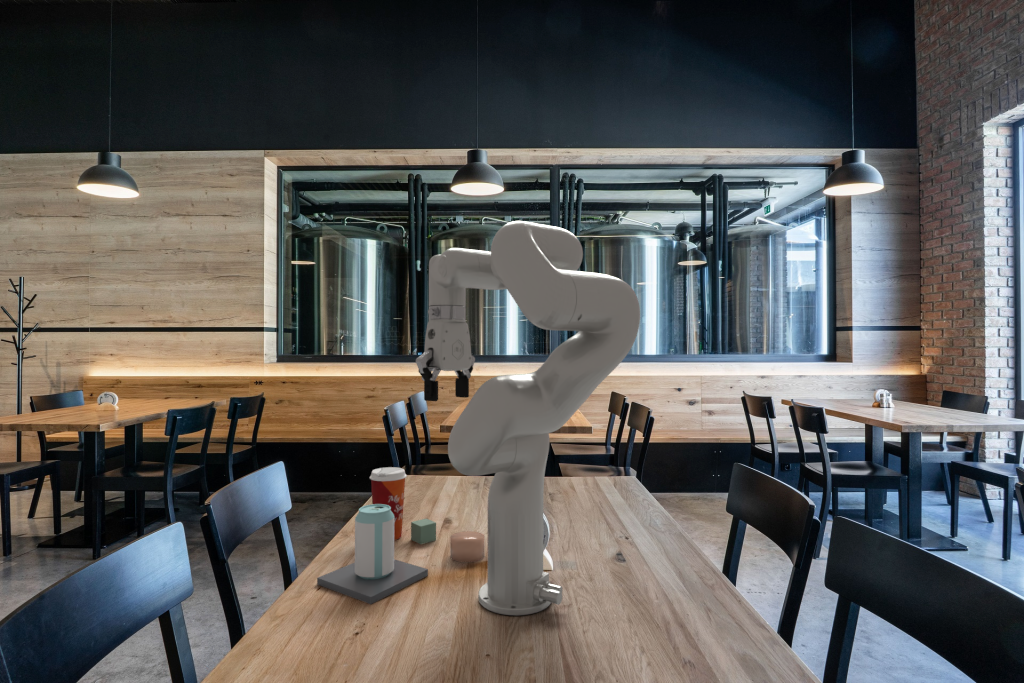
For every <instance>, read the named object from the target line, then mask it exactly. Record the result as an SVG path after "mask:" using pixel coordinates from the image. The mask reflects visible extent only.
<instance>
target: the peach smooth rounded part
mask: <svg viewBox="0 0 1024 683" xmlns="http://www.w3.org/2000/svg"><path fill="white" fill-rule="evenodd" d="M485 538H486V537H485V534H483V533H482V532H480V531H471V530H470V531H469V530H467V531H466V530H464V531H460V532H455V533H453V534H452V535H450V538H449V539H450V545H449V548H450V551H449V553H450V556H449V557H450V559H451V560H453V561H454V562H459V563H474V562H479V561H481V560H482V559H484V557H485V548H486V547H485Z"/></svg>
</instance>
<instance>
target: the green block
mask: <svg viewBox="0 0 1024 683" xmlns="http://www.w3.org/2000/svg"><path fill="white" fill-rule="evenodd" d="M410 540H412V542H415V543H417V544H419V545H423V544H427V543H431V542H435V541H437V522H436V521H433V520H432V519H431V520H430V519H428V518H427V517H426V518H422V519H418V520H413V521H411V522H410Z"/></svg>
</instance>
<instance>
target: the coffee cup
mask: <svg viewBox="0 0 1024 683" xmlns="http://www.w3.org/2000/svg"><path fill="white" fill-rule="evenodd" d="M406 478H407V474H406V471H405V469H404V468H401V467H398V466H397V467H394V466H393V467H392V466H388V467H379V468H375V469H372V471H371V474H370V476H369V480H370V481H371V482H370V483H371V501H372V503H371V504H385V505H389V506H390V507H391V511H392V513H393V514H394V541H397V540H398V539H401V538H402V533H403V522H404V521H403V520H404V506H405V505H404V504H405V502H404V501H405V487H406V486H405V485H406V483H405V482H406Z"/></svg>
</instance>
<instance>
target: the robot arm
mask: <svg viewBox="0 0 1024 683" xmlns="http://www.w3.org/2000/svg"><path fill="white" fill-rule="evenodd" d="M583 257H584V252H583V246H582V244H581V242H580V240H579V239H578V237H577V236H576V235H575V234H574V233H572V232H571V231H570V230H567V229H565V228H562V227H559V226H553V225H548V224H542V223H537V222H531V221H525V220H524V221H523V220H515V221H514V220H513V221H510V222H508V223H506V224H504V225H502V226H501V227H500V228H498V230H497V232H495V235H494V237H493V239H492V242H491V246H490V251H488V250H487V251H486V250H480V249H479V250H478V249H469V248H462V247H451V248H447V249H446V250H445V251H443V252H442V253H441V254H435V255H433V256H432V257H431V258H429V261H428V262H429V263H428V310H427V314H428V321H427V325H426V331H425V336H424V337H425V339H424V340H425V341H424V352H423V353H422V354H420V355H419V356H418V357H416V359H415V364H416V366H417V368H418V373H419V375H420V376H421V380H422V381H423V383H424V384H423V398H424V399H423V400H424V401H425V402H426V401H427V402H438V401H439V381H438V380H437V378H438V377H439V374H440V373H441V371H443V372H452V371H453V372H454V373H455V375H456V376H457V377H456V378H455V380H454V381H455V383H454V384H455V385H454V386H455V390H454V392H455V394H454V395H455V398H464V399H465V398H466V399H467V398H469V396H470V388H469V387H470V378H471V377H472V375H471V374H472V372H473V370H474V364H475V361H476V357H475V356H474V355H473V354H472V347H471V346H472V345H471V335H470V329H469V325H468V322H466V312H467V311H466V305H467V303H466V302H467V301H466V298H467V296H466V295H467V294H466V293H467V292H466V290H467V289H478V290H479V289H480V290H488V291H500V290H501V291H503V290H507V291H508V293H509V295H511V297H512V299H513V300H514V302H515V303H516V305H517V306H518V308H519V309H520V311H521V312H522V314H523V316H524V317H525V318H526V319H527V320H528V321H529V322H530V323H531V324H532V325H534V326H536V327H537V328H539V329H543V330H547V331H565V332H566V331H568V332H577V333H575V334H574V335H573V336H571V337H569V338H568V339H566V340H565V341H563V342H562V343H560V344H559V345H558V346H557V347H555V348H554V350H553V351H552V352H551V353H550V354H549V356H548V357H547V359H546V360H545V361H544V362H543V363H542V365H541V366H540V367H539V368H538V369H536V370H535V371H532V372H529V373H523V374H517V373H516V374H503V375H497V376H494V377H492V378H489V379H487V380H486V381H485V382H484V383H482V384H481V385H480V386H479V388H478V389H477V390H476V392H474V394H473V395H472V398H470V400H469V402H468V403H467V404H466V406H465V408H464V409H463V410H462V412H461V414H460V415H459V416H458V418H457V419H456V421H455V423H454V425H453V427H452V429H451V431H450V433H449V438H448V442H447V443H448V444H447V455H448V458H449V461H450V464H451V465H452V467H453V469H455V470H456V471H457V472H459V473H460V474H462V475H465V476H470V477H476V476H485V475H490V474H494V476H493V478H492V481H491V483H490V485H489V490H488V493H487V494H488V495H487V582H485V583H484V584H483V585H482V586H481V587H480V588H479V589H478V595H477V596H478V602H479V604H480V605H481V606H482V607H483V608H484V609H485V610H488V611H491V612H492V613H495V614H499V615H505V616H526V615H532V614H537V613H539V612H542V611H544V610H546V609H547V608H548V607H549V606H550V605H551V604H554V605H555V604H556V605H558V606H559V605H561V604H562V600H563V586H561V585H559V584H553V583H551V581H550V572H546V571H544V492H545V491H544V490H545V488H544V485H545V474H546V467H547V461H548V457H549V456H548V455H549V452H550V434H551V433H553V432H556V431H558V430H559V429H561V428H562V427H563V426H565V424H566V423H567V422H568V421H569V420H570V419H571V418H572V416H574V414H575V413H576V412H577V411H578V410H579V409H580V407H581V406H582V405H583V404H584V403H585V402H586V401H587V399H588V398H589V397H590V396H591V395H592V394H593V393H594V392H595V390H596V389H597V388H598V387H599V386H600V384H601V383H602V382H603V381H604V380H605V379H607V377H608V376H609V375H610V374H611V373H612V372H613V371H614V370H616V368H617V367H618V366H619V365H620V364H621V362H623V361H624V359H625V358H626V357H627V356H628V354H629V352H630V351H631V349H632V348H633V346H634V343H635V342H636V340H637V336H638V333H639V329H640V328H639V327H640V322H641V321H640V320H641V308H640V303H639V302H640V301H639V299H638V296H637V294H636V292H635V290H634V289H633V288H632V286H631V285H629V283H627V282H626V281H624V280H622V279H620V278H618V277H616V276H613V275H610V274H606V273H598V272H591V271H581V270H579V268H580V267H581V264H582V262H583Z"/></svg>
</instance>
